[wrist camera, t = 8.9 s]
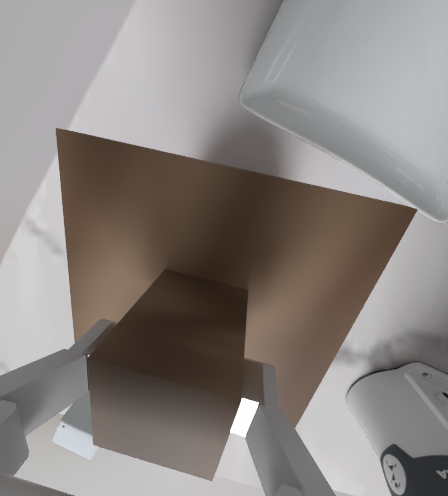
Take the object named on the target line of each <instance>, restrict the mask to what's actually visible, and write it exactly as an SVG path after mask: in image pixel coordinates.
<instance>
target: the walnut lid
mask: <svg viewBox="0 0 448 496" xmlns="http://www.w3.org/2000/svg"><path fill="white" fill-rule="evenodd" d="M56 136H57V147H58V158H59V170H60V181H61V192H62V204H63V215H64V226H65V237H66V249H67V260H68V271H69V282H70V294H71V305H72V316H73V328H74V339H75V343H76V342H77V341H78V340H79V339H80V338H81V337H82V336H83V335H84V334H85V333H86V332H87V331H88V330H89V329H90V328H91V327H92V326H93V325H94V324H95V323H96V322H97V321H98V320H100V319H106V320H109V321H113V322H117V325H116V326H115V327H114V328H113V329H112V330H111V332H110V333H109V334H108V335H107V336H106V337H105V338H104V340H103V341H102V342H101V343H100V344H99V345H98V346H97V348H96V349H95V350H94V351H93V352H92V353H91V354H90V356H89V357H88V371H89V388H90V405H91V421H92V438H93V445H95V446H98V447H101V448H105V449H108V450H112V451H115V452H118V453H121V454H125V455H128V456H131V457H134V458H138V459H141V460H144V461H148V462H151V463H155V464H158V465H161V466H164V467H167V468H171V469H174V470H177V471H180V472H184V473H187V474H191V475H194V476H197V477H200V478H204V479H207V480H210V481H212V480H213V477H214V475H215V472H216V469H217V467H218V464H219V461H220V459H221V456H222V453H223V450H224V448H225V445H226V442H227V440H228V437H229V434H230V431H231V429H232V426H233V423H234V420H235V418H236V415H237V412H238V410H239V407H240V404H241V401H242V387H243V370H244V357H245V358H249V359H253V360H257V361H260V362H264V363H267V364H271V365H274V366H275V368H276V377H277V387H278V397H279V406H280V410H282V411H284V412H285V414H286V415H287V417H288V418H289V420H290V422H291V423H292V425H293V427H294V428H295V427H296V425H297V424H298V422H299V420H300V418H301V417H302V415H303V413H304V411H305V409H306V408H307V406H308V404H309V402H310V400H311V399H312V397H313V395H314V393H315V392H316V390H317V388H318V386H319V384H320V383H321V381H322V379H323V377H324V376H325V374H326V372H327V370H328V368H329V367H330V365H331V363H332V361H333V359H334V358H335V356H336V354H337V352H338V351H339V349H340V347H341V345H342V343H343V342H344V340H345V338H346V336H347V335H348V333H349V331H350V329H351V327H352V326H353V324H354V322H355V320H356V319H357V317H358V315H359V313H360V311H361V310H362V308H363V306H364V304H365V302H366V301H367V299H368V297H369V295H370V294H371V292H372V290H373V288H374V286H375V285H376V283H377V281H378V279H379V278H380V276H381V274H382V272H383V270H384V269H385V267H386V265H387V263H388V262H389V260H390V258H391V256H392V254H393V253H394V251H395V249H396V247H397V245H398V244H399V242H400V240H401V238H402V237H403V235H404V233H405V231H406V229H407V228H408V226H409V224H410V222H411V221H412V219H413V217H414V215H415V213H416V212H417V210H418V209H416V208H412V207H408V206H404V205H400V204H395V203H391V202H387V201H382V200H378V199H373V198H369V197H364V196H360V195H355V194H351V193H346V192H342V191H337V190H333V189H328V188H324V187H319V186H315V185H311V184H306V183H302V182H297V181H293V180H288V179H284V178H279V177H275V176H270V175H266V174H261V173H257V172H252V171H248V170H243V169H239V168H234V167H230V166H226V165H221V164H217V163H212V162H208V161H203V160H199V159H194V158H190V157H185V156H181V155H176V154H172V153H167V152H163V151H158V150H154V149H150V148H145V147H141V146H136V145H132V144H127V143H123V142H118V141H114V140H109V139H105V138H100V137H96V136H91V135H87V134H82V133H78V132H73V131H68V130H63V129H58V128H56Z"/></svg>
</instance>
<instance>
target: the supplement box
mask: <svg viewBox="0 0 448 496" xmlns="http://www.w3.org/2000/svg"><path fill="white" fill-rule="evenodd" d="M52 442H54V443H56V444H58V445H60V446H62V447H64V448H67V449H69V450H71V451H73V452H75V453H77V454H79V455H81V456H83V457H85V458H87V459H89V460H91V458H92V457H93V456H94V454H95V453H96V451H97V450H98V449H99V447H98V446H95V445H93V438H92V421H91V405H90V391H88V393H87V394H85V395H84V396H82V397H81V398H79V399H78V400H77V401H75V402H74V403H73V404H72V405H71V407H70V408H69V409H68V411H67V412H66V413H65V415H64V416H63V417H62V419H61V420H60V423H59V425H58V428H57V430H56V433H55V435H54V437H53V439H52Z"/></svg>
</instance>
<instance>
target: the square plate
mask: <svg viewBox="0 0 448 496" xmlns="http://www.w3.org/2000/svg"><path fill="white" fill-rule="evenodd" d="M239 102H240V104H241V105H242V106H243V107H244V108H245V109H247V110H248V111H250V112H251V113H253V114H254V115H256V116H258V117H259V118H261V119H263V120H265V121H267V122H268V123H270V124H272V125H274V126H276V127H278V128H280V129H282V130H284V131H286V132H287V133H289V134H291V135H293V136H295V137H297V138H299V139H301V140H303V141H305V142H306V143H308V144H310V145H312V146H314V147H316V148H318V149H319V150H321V151H323V152H325V153H327V154H328V155H330V156H332V157H334V158H335V159H337V160H339V161H341V162H342V163H344V164H346V165H348V166H349V167H351V168H353V169H354V170H356V171H357V172H359V173H361V174H362V175H364V176H366V177H367V178H369V179H370V180H372V181H373V182H375V183H376V184H378V185H379V186H381V187H382V188H384V189H385V190H387V191H388V192H390V193H391V194H393V195H394V196H396V197H397V198H399V199H400V200H402V201H403V202H404V203H406V204H407V205H409V206H410V207H412V208H416V209H418V210H417V211H418V212H419V213H421V214H422V215H424V216H425V217H427V218H429V219H431V220H433V221H435V222H437V223H440V224H447V223H448V0H283V1H282V3H281V6H280V8H279V10H278V12H277V14H276V16H275V18H274V20H273V22H272V24H271V26H270V28H269V30H268V32H267V35H266V37H265V39H264V41H263V43H262V45H261V47H260V49H259V51H258V54H257V56H256V58H255V60H254V62H253V64H252V66H251V68H250V70H249V73H248V75H247V77H246V79H245V82H244V84H243V86H242V89H241V91H240V95H239Z"/></svg>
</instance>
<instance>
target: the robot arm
mask: <svg viewBox="0 0 448 496" xmlns="http://www.w3.org/2000/svg"><path fill="white" fill-rule="evenodd" d="M116 325H117V322H113V321H109V320H106V319H100V320H98V321H97V322H96V323H95V324H94V325H93V326H92V327H91V328H90V329H89V330H88V331H87V332H86V333H85V334H84V335H83V336H82V337H81V338H80V339H79V340H78V341H77V342H76V343H75V344H74V345H73V346H71V347H70V348H69V349H68V350H67V349H63V350H60V351H58V352H56V353H53V354H51V355H48V356H46V357H44V358H41V359H39V360H37V361H34V362H32V363H29V364H27V365H25V366H22V367H20V368H18V369H15V370H13V371H10V372H8V373H6V374H3V375H1V376H0V496H73V495H70V494H67V493H64V492H61V491H58V490H54V489H51V488H48V487H45V486H42V485H39V484H36V483H33V482H30V481H27V480H23V479H20V478H17V477H14V475H15V473H16V472H17V471H18V470H19V468H20V467H21V466H22V464H23V463H24V462H25V460H26V459H27V458H28V455H29V449H28V446H27V442H26V438H25V436H26V435H28V434H29V433H30V432H32V431H33V430H35V429H36V428H38V427H39V426H41V425H42V424H43V423H45V422H46V421H48V420H49V419H51V418H52V417H53V416H55V415H56V414H58V413H59V412H61V411H62V410H64V409H65V408H67V407H68V406H69V405H71V404H72V403H74V402H75V401H77V400H78V399H79V398H81V397H82V396H84V395H85V394H87V393H88V391H90V388H89V371H88V357H89V356H90V354H91V353H92V352H93V351H94V350H95V349H96V348H97V346H98V345H99V344H100V343H101V342H102V341H103V340H104V338H105V337H106V336H107V335H108V334H109V333H110V332H111V330H112V329H113V328H114V327H115V326H116ZM347 406H348V408H349V410H350V412H351V413H352V415H353V416H354V417H355V419H356V420H357V422H358V424H359V425H360V427H361V429H362V430H363V432H364V434H365V436H366V437H367V439H368V441H369V443H370V445H371V447H372V448H373V450H374V452H375V454H376V456H377V458H378V460H379V462H380V464H381V466H382V469H383V473H384V476H385V479H386V482H387V485H388V488H389V490H390V493H391V495H392V496H448V375H447V374H445V373H443V372H440V371H438V370H436V369H434V368H431V367H429V366H427V365H424V364H422V363H419V362H414V363H410V364H407V365H405V366H403V367H401V368H398V369H395V370H390V371H383V372H378V373H375V374H372V375H369V376H367V377H365V378H363V379H361V380H360V381H358V382H357V383H356V384H355V385H354V386H353V387H352V388H351V389H350V391H349V393H348V395H347ZM230 432H233V433H236V434H239V435H242V436H245V439H246V442H247V444H248V447H249V450H250V453H251V456H252V459H253V461H254V464H255V467H256V470H257V473H258V476H259V478H260V481H261V484H262V487H263V490H264V492H265V495H266V496H336V495H335V494H334V492H333V490H332V489H331V487H330V486H329V484H328V482H327V481H326V479H325V477H324V476H323V474H322V472H321V471H320V469H319V468H318V466H317V464H316V463H315V461H314V459H313V458H312V456H311V454H310V453H309V451H308V450H307V448H306V446H305V445H304V443H303V441H302V440H301V438H300V436H299V435H298V433H297V432H296V430H295V428H294V427H293V425H292V423H291V422H290V420H289V418H288V417H287V415H286V414H285V412H284V411H282V410H280V406H279V397H278V387H277V377H276V368H275V366H274V365H271V364H267V363H264V362H260V361H257V360H253V359H249V358H245V357H244V370H243V387H242V401H241V404H240V407H239V410H238V412H237V415H236V418H235V420H234V423H233V426H232V429H231V431H230Z"/></svg>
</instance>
